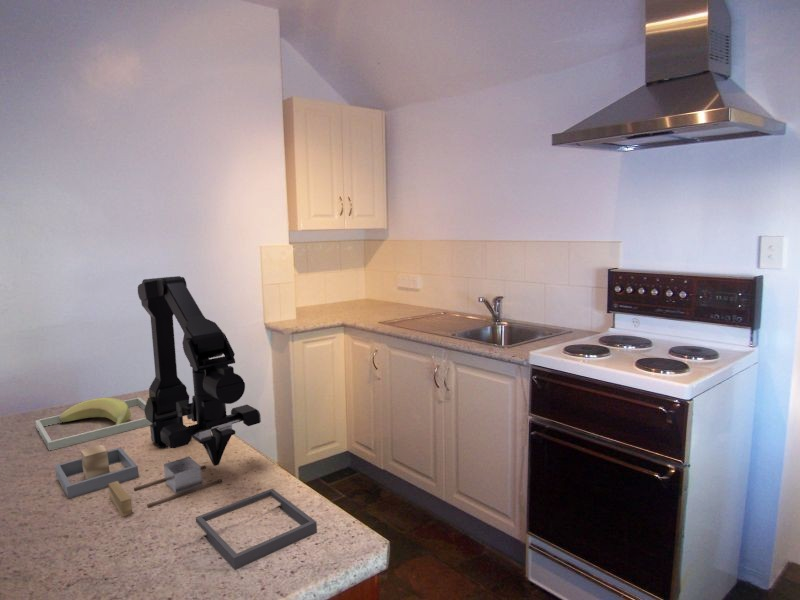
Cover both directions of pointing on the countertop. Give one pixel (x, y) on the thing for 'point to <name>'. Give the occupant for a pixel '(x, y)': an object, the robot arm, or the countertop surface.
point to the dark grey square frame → (265, 547)
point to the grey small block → (183, 474)
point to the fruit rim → (91, 434)
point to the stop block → (95, 461)
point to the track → (122, 497)
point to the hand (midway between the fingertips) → (215, 464)
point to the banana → (98, 410)
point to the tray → (99, 481)
